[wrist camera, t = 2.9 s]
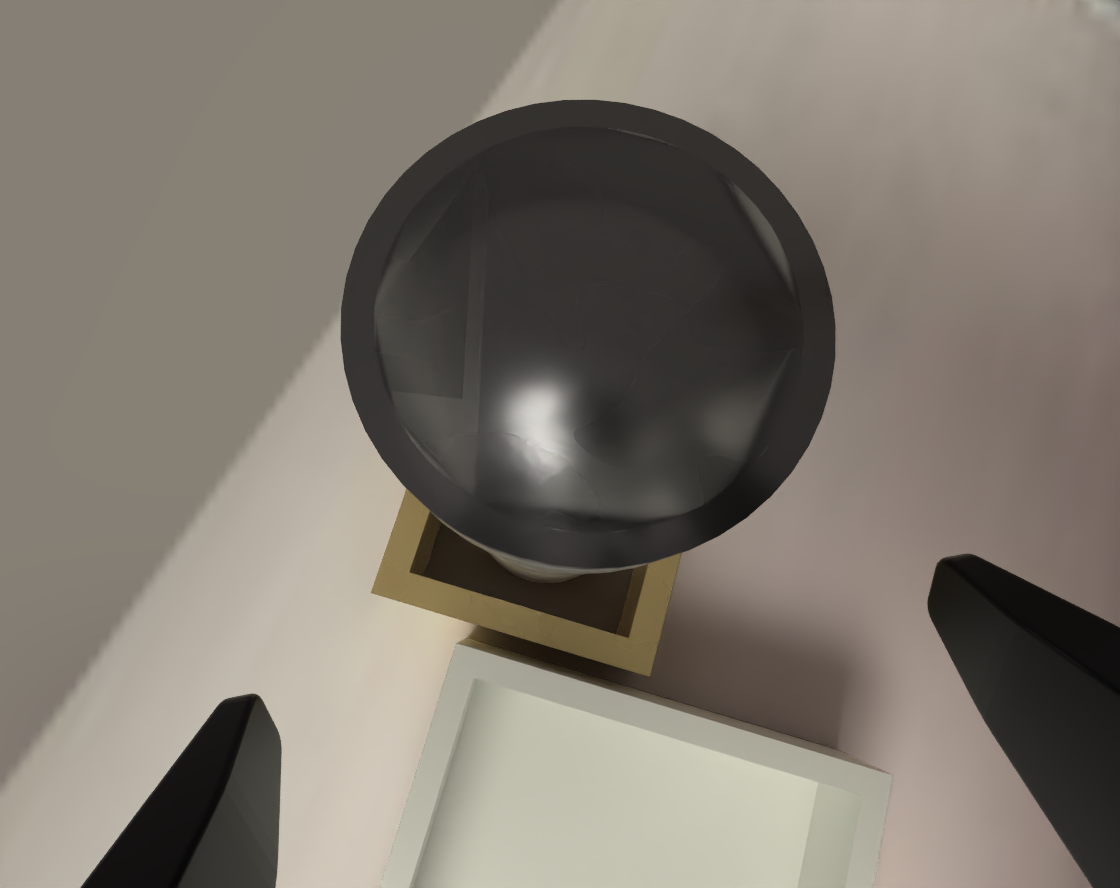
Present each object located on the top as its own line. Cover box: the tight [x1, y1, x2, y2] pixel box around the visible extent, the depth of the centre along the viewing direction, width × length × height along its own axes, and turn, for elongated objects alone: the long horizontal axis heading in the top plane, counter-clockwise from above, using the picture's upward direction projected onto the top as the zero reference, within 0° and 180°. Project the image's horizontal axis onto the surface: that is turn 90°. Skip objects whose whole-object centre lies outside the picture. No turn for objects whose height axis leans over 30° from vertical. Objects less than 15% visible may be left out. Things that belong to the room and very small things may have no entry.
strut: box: [341, 100, 835, 583], centre depth 14 cm, size 5×5×14 cm
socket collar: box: [371, 489, 681, 677], centre depth 19 cm, size 7×7×2 cm
